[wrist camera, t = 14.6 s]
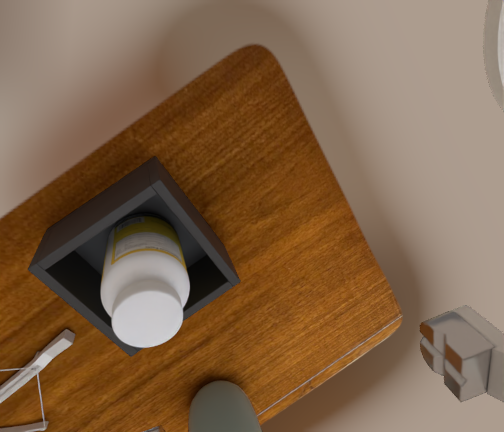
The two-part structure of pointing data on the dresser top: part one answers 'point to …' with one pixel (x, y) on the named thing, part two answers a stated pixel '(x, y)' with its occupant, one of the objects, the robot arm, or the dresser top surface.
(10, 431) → the crossbow
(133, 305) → the pill bottle
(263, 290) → the dresser top surface
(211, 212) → the dresser top surface
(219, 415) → the cup
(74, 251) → the bin
